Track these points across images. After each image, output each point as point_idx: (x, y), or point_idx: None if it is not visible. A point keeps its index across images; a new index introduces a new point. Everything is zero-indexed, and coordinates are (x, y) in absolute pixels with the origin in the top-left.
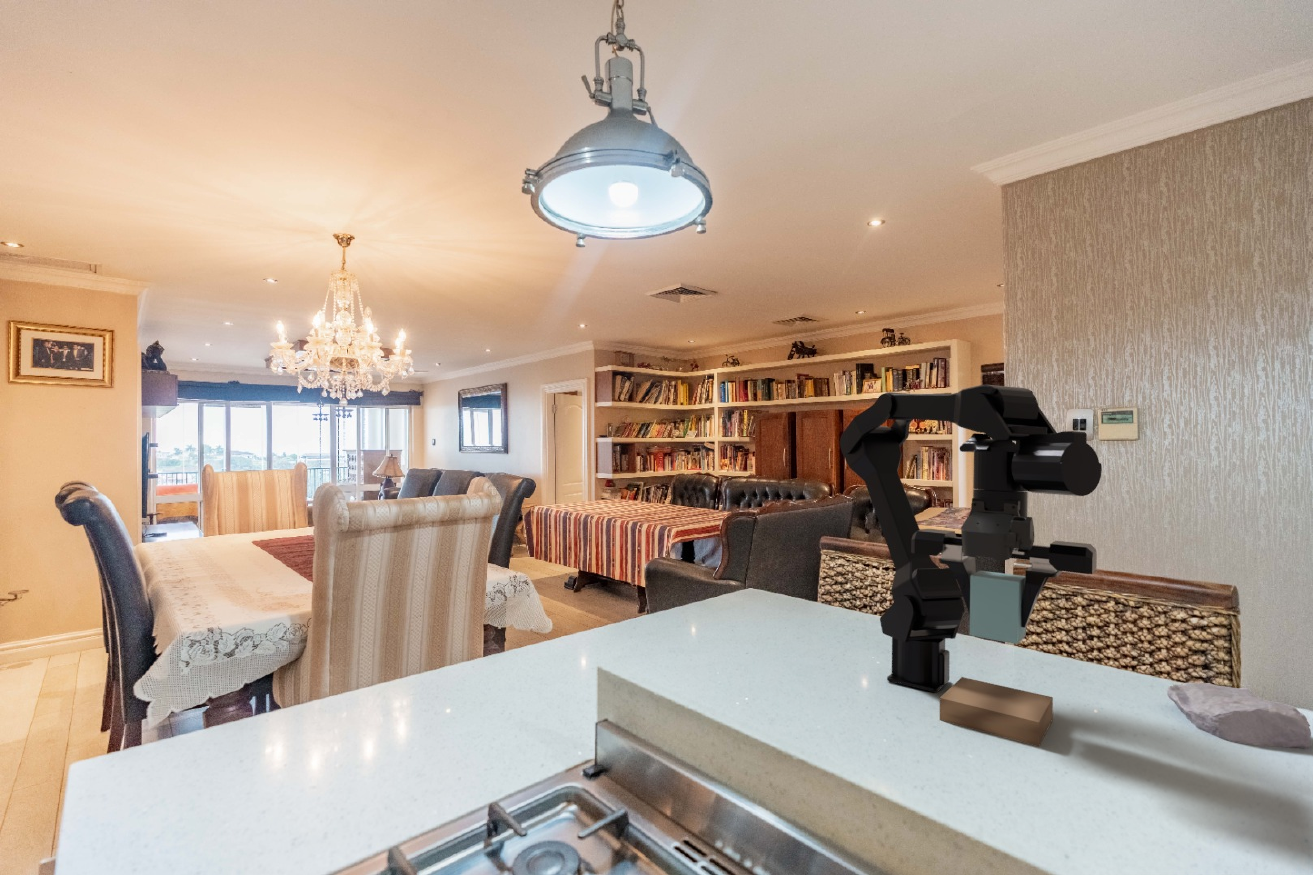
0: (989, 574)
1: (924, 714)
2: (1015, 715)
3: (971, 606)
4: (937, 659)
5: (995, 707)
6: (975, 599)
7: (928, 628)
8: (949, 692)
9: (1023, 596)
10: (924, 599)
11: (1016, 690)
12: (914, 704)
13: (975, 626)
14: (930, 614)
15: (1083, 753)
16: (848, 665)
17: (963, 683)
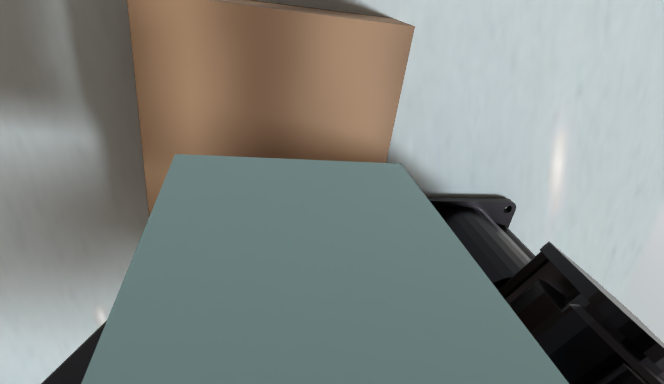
0: None
1: (429, 34)
2: (199, 10)
3: (458, 251)
4: None
5: (263, 49)
6: (459, 292)
7: (510, 302)
8: (391, 97)
9: None
10: (612, 370)
11: None
12: (453, 92)
13: (390, 184)
14: (546, 323)
15: (35, 13)
16: (583, 242)
17: None
